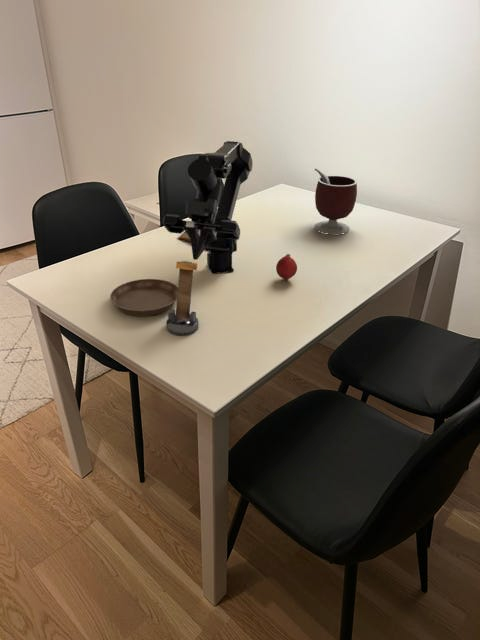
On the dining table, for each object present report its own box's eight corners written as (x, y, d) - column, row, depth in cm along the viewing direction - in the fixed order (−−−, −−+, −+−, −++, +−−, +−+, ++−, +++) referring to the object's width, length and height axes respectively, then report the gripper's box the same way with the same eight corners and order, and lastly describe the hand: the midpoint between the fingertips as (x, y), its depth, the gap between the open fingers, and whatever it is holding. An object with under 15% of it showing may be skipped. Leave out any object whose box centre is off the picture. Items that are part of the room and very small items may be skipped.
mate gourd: (357, 226, 177) (365, 170, 167) (342, 239, 167) (350, 179, 157) (318, 218, 184) (323, 163, 174) (301, 229, 174) (306, 172, 164)
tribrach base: (173, 317, 122) (172, 302, 120) (202, 321, 121) (202, 306, 119) (161, 333, 116) (160, 318, 114) (192, 337, 114) (192, 322, 112)
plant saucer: (142, 282, 139) (141, 272, 137) (194, 298, 131) (193, 287, 129) (96, 309, 126) (95, 298, 124) (151, 328, 118) (150, 317, 116)
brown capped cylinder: (176, 314, 120) (180, 260, 118) (195, 317, 119) (199, 262, 117) (169, 317, 115) (173, 260, 113) (188, 320, 114) (193, 263, 112)
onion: (282, 286, 137) (284, 259, 133) (271, 277, 141) (273, 251, 137) (299, 282, 139) (302, 255, 135) (288, 273, 144) (290, 248, 140)
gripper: (162, 181, 118) (148, 242, 115) (238, 188, 114) (225, 251, 111) (175, 203, 129) (163, 259, 126) (245, 209, 125) (234, 267, 122)
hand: (195, 259), depth 121 cm, fingers closed
